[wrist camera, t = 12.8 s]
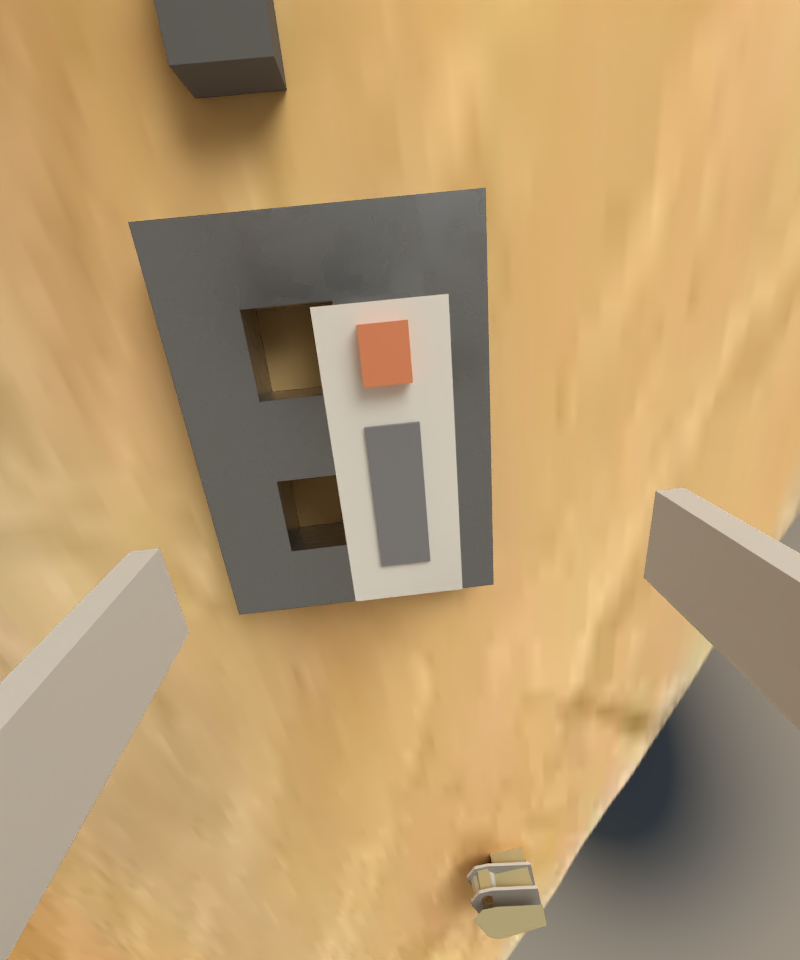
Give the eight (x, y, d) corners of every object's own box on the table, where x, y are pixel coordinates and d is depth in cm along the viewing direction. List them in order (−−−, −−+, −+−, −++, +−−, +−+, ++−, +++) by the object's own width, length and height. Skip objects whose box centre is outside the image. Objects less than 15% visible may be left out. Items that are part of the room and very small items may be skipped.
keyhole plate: (252, 585, 33) (239, 614, 30) (160, 234, 25) (128, 222, 21) (481, 558, 34) (493, 584, 31) (470, 204, 25) (485, 187, 22)
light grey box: (360, 516, 31) (355, 611, 21) (331, 310, 26) (306, 307, 16) (435, 507, 31) (465, 598, 21) (421, 301, 26) (452, 292, 16)
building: (534, 822, 47) (554, 884, 41) (543, 869, 50) (563, 933, 45) (444, 842, 47) (453, 907, 42) (459, 888, 50) (469, 953, 45)
